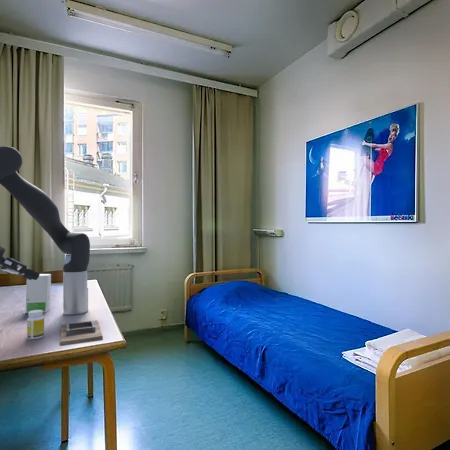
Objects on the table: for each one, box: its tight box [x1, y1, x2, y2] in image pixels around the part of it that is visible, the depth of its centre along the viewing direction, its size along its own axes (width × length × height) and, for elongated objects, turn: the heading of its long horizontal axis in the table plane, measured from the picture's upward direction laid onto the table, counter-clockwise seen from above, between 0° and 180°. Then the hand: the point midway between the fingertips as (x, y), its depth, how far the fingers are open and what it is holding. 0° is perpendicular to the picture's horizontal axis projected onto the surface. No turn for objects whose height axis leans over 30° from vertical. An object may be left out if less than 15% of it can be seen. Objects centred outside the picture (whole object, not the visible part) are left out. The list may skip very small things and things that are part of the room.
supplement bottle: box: [26, 310, 45, 340], centre depth 108 cm, size 5×5×8 cm
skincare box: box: [25, 273, 52, 314], centre depth 142 cm, size 8×7×16 cm
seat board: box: [59, 319, 103, 346], centre depth 112 cm, size 20×12×2 cm, turn 25°
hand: (35, 277), depth 106 cm, fingers open, 8 cm apart
